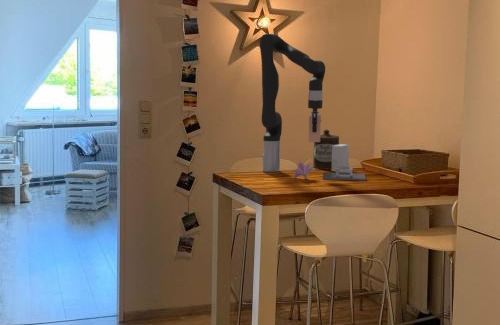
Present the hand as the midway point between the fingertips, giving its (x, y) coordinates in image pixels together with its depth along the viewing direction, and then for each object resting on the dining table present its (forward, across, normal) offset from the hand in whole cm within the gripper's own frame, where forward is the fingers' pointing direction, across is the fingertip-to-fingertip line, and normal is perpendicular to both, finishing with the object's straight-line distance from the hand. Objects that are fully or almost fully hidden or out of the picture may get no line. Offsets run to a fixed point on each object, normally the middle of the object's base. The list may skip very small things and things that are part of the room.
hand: (314, 131), depth 326 cm
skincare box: (+24, -19, +14) cm, 34 cm away
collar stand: (+24, +2, +16) cm, 29 cm away
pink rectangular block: (+5, 0, 0) cm, 5 cm away
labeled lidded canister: (+24, -32, +6) cm, 41 cm away
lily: (+24, +11, -5) cm, 27 cm away
